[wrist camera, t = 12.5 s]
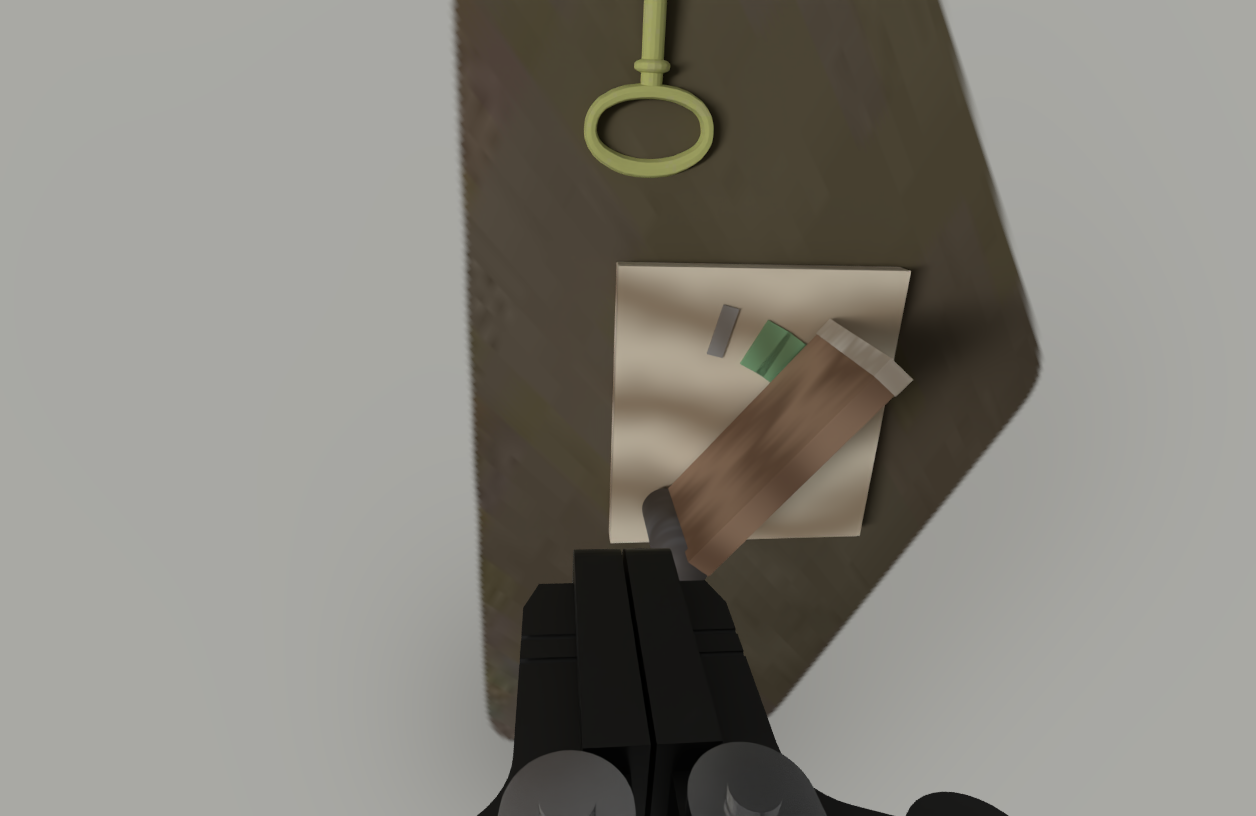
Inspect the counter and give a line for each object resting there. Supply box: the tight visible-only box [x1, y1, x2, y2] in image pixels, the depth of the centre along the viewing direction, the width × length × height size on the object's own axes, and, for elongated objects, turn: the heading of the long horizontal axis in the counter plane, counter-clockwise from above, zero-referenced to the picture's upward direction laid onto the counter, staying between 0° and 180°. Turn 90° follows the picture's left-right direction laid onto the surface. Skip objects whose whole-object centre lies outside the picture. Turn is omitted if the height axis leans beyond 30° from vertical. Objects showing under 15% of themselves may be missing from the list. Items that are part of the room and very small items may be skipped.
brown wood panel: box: [642, 319, 913, 581], centre depth 39 cm, size 18×3×8 cm, turn 138°
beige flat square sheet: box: [609, 262, 911, 543], centre depth 44 cm, size 19×18×2 cm
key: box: [584, 0, 714, 178], centre depth 35 cm, size 7×12×2 cm, turn 16°
